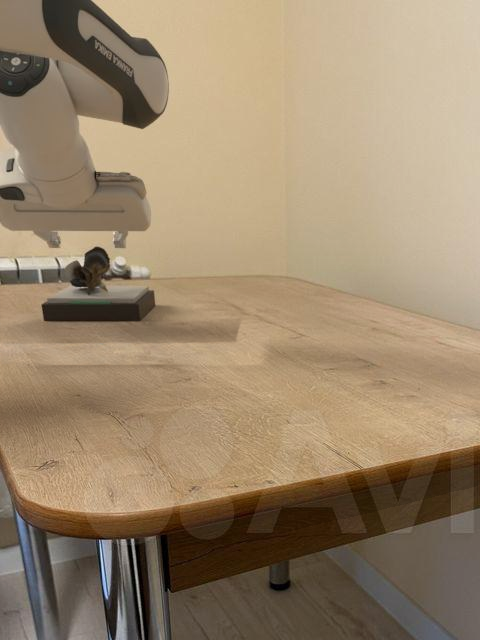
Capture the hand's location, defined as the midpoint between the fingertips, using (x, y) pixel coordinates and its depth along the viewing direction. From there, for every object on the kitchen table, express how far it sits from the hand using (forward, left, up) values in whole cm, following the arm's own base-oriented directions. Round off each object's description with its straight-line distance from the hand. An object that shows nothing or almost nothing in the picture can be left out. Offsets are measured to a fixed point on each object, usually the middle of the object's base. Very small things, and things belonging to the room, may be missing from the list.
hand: (88, 244), depth 105 cm
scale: (0, +3, -10) cm, 11 cm away
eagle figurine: (-1, +3, -7) cm, 8 cm away
